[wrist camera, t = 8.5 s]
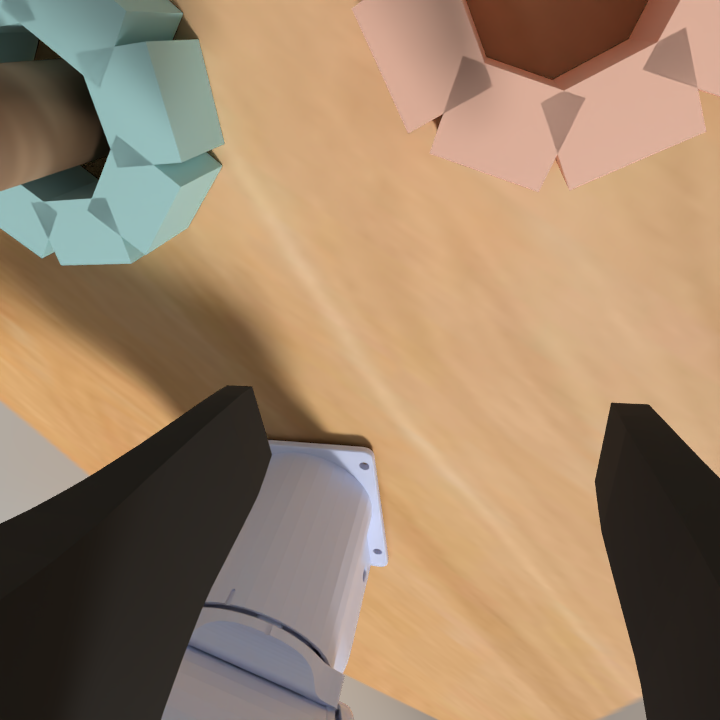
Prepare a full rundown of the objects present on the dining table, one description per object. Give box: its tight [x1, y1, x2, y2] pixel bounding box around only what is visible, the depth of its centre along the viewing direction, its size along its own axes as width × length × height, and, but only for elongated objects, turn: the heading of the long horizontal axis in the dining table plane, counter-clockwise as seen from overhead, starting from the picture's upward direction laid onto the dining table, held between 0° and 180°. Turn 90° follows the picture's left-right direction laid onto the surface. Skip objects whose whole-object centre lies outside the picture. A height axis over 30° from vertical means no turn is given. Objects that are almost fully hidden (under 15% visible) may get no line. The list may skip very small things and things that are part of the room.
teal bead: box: [0, 0, 224, 265], centre depth 17 cm, size 10×10×3 cm
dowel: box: [0, 58, 111, 191], centre depth 15 cm, size 3×3×8 cm
